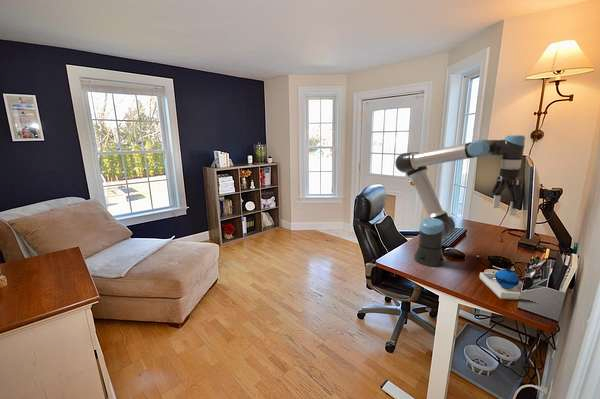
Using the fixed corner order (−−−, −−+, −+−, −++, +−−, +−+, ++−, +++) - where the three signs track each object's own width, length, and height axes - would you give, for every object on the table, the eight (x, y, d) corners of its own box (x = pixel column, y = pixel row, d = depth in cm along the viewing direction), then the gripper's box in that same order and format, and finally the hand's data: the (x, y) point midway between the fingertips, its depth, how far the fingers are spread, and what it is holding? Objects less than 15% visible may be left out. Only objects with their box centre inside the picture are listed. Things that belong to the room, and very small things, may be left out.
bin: (500, 298, 112) (501, 292, 112) (479, 277, 129) (480, 272, 129) (535, 301, 110) (537, 294, 110) (509, 279, 127) (510, 274, 127)
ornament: (489, 283, 123) (492, 264, 120) (502, 280, 125) (506, 261, 123) (508, 293, 115) (512, 273, 112) (522, 290, 117) (526, 269, 115)
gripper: (538, 171, 113) (529, 218, 118) (503, 165, 137) (497, 205, 142) (518, 171, 114) (510, 218, 119) (487, 166, 138) (482, 205, 143)
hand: (503, 211), depth 130 cm, fingers open, 13 cm apart
